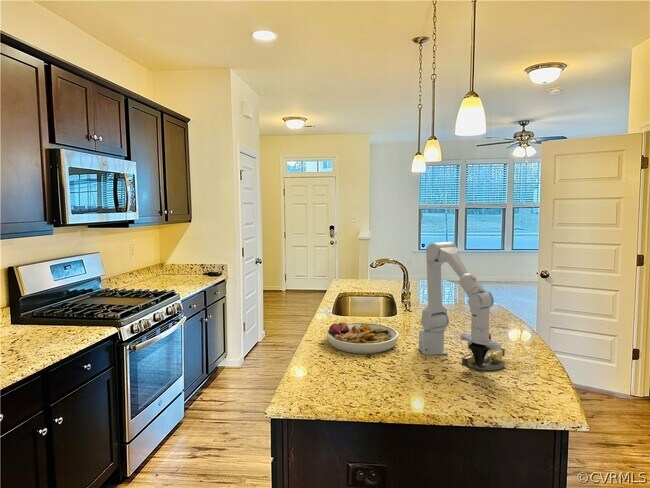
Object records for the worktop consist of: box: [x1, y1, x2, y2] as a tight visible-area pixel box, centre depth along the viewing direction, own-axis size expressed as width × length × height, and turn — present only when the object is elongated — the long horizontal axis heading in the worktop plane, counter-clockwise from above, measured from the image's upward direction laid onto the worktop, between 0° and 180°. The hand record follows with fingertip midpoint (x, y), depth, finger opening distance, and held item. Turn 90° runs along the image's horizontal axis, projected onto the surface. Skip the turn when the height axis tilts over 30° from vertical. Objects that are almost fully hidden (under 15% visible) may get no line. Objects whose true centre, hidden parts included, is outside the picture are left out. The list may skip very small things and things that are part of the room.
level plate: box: [462, 351, 505, 372], centre depth 151 cm, size 14×14×4 cm
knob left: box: [461, 351, 475, 367], centre depth 147 cm, size 9×4×4 cm, turn 125°
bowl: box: [326, 322, 399, 355], centre depth 175 cm, size 30×30×8 cm
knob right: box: [490, 347, 506, 364], centre depth 151 cm, size 9×4×4 cm, turn 139°
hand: (479, 364), depth 143 cm, fingers closed
